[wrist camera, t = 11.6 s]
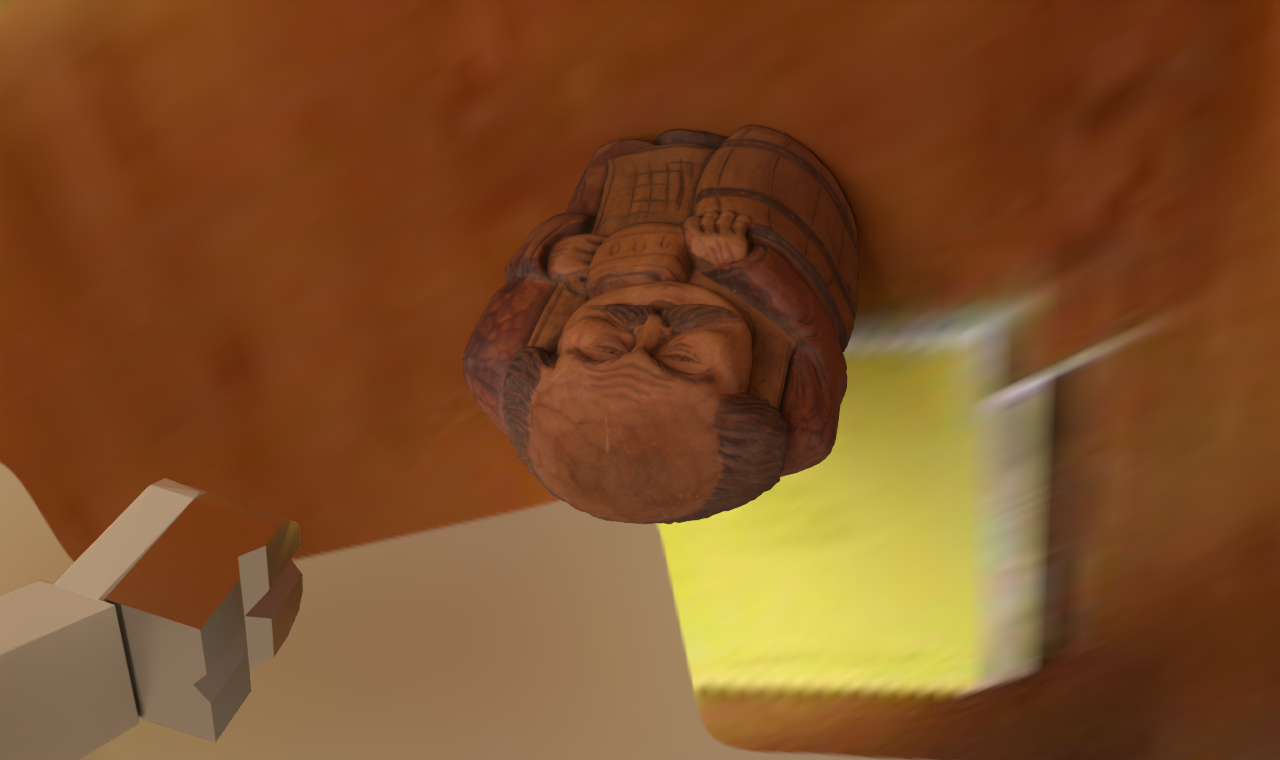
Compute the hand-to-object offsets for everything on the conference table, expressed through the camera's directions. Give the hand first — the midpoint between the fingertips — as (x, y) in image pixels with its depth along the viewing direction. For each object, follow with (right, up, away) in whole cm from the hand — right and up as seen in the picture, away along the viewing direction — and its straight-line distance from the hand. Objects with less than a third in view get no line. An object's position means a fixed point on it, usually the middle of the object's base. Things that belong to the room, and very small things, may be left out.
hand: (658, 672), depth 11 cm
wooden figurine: (+3, +11, +32) cm, 34 cm away
